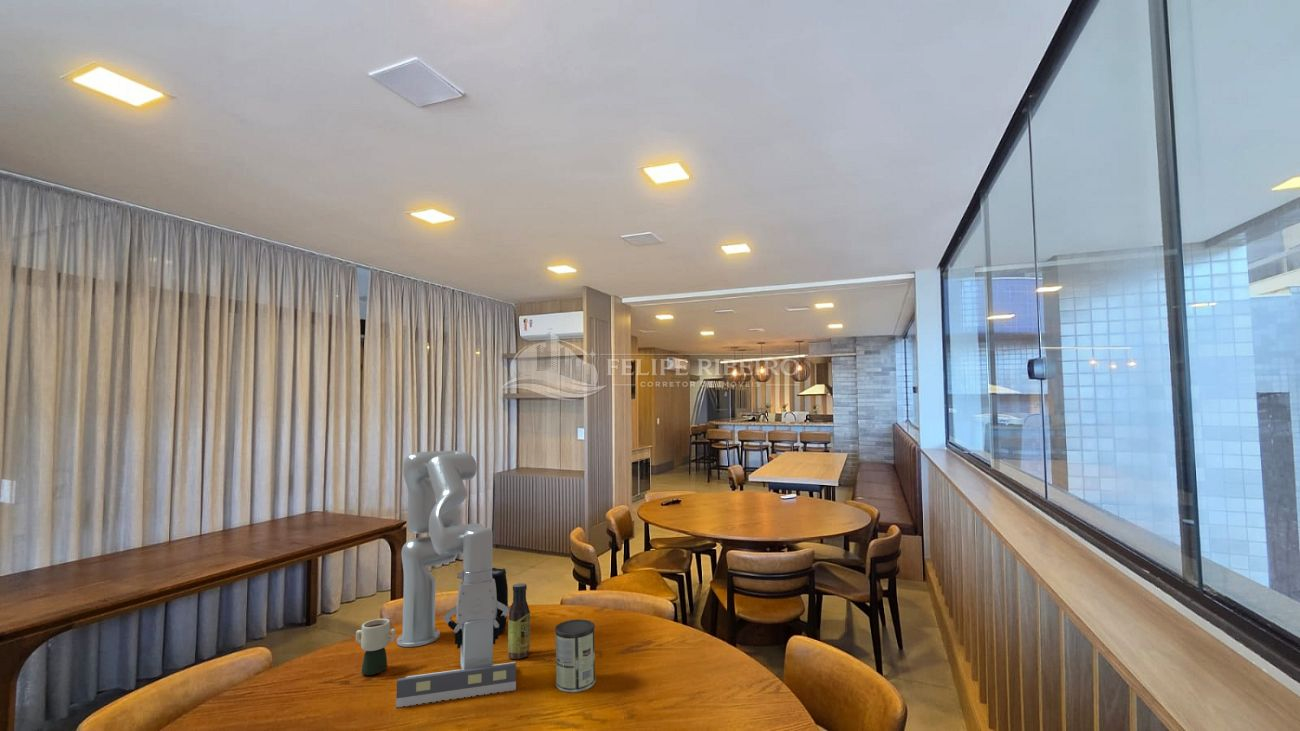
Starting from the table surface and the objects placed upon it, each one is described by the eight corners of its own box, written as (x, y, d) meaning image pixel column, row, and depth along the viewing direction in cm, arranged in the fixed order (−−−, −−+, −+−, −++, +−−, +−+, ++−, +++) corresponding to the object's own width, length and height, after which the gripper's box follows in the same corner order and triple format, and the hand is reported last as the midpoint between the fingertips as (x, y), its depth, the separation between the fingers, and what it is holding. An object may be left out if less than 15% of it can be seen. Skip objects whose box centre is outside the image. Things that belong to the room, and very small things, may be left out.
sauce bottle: (524, 661, 150) (524, 588, 152) (503, 659, 151) (504, 588, 153) (533, 651, 156) (533, 582, 158) (514, 650, 157) (514, 581, 160)
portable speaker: (480, 628, 176) (481, 567, 179) (509, 626, 177) (509, 566, 180) (476, 638, 168) (476, 574, 170) (506, 635, 169) (506, 572, 171)
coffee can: (567, 671, 142) (566, 617, 144) (601, 676, 139) (600, 620, 141) (547, 689, 133) (547, 631, 134) (584, 695, 129) (583, 635, 131)
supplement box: (493, 669, 136) (494, 618, 138) (463, 676, 133) (464, 623, 134) (488, 658, 143) (489, 610, 144) (459, 664, 139) (460, 615, 141)
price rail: (397, 696, 128) (397, 678, 128) (515, 679, 135) (515, 662, 135) (396, 698, 126) (396, 681, 127) (515, 681, 133) (515, 664, 134)
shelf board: (405, 684, 138) (405, 675, 138) (515, 669, 145) (515, 661, 145) (395, 707, 126) (396, 697, 126) (515, 689, 133) (515, 680, 133)
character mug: (400, 665, 149) (401, 617, 151) (388, 677, 142) (389, 626, 144) (361, 666, 149) (363, 619, 150) (347, 678, 142) (349, 628, 143)
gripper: (441, 583, 135) (439, 654, 133) (511, 576, 139) (510, 645, 137) (444, 575, 142) (443, 643, 140) (511, 569, 146) (510, 635, 144)
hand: (476, 644), depth 138 cm, fingers closed on supplement box, 8 cm apart
